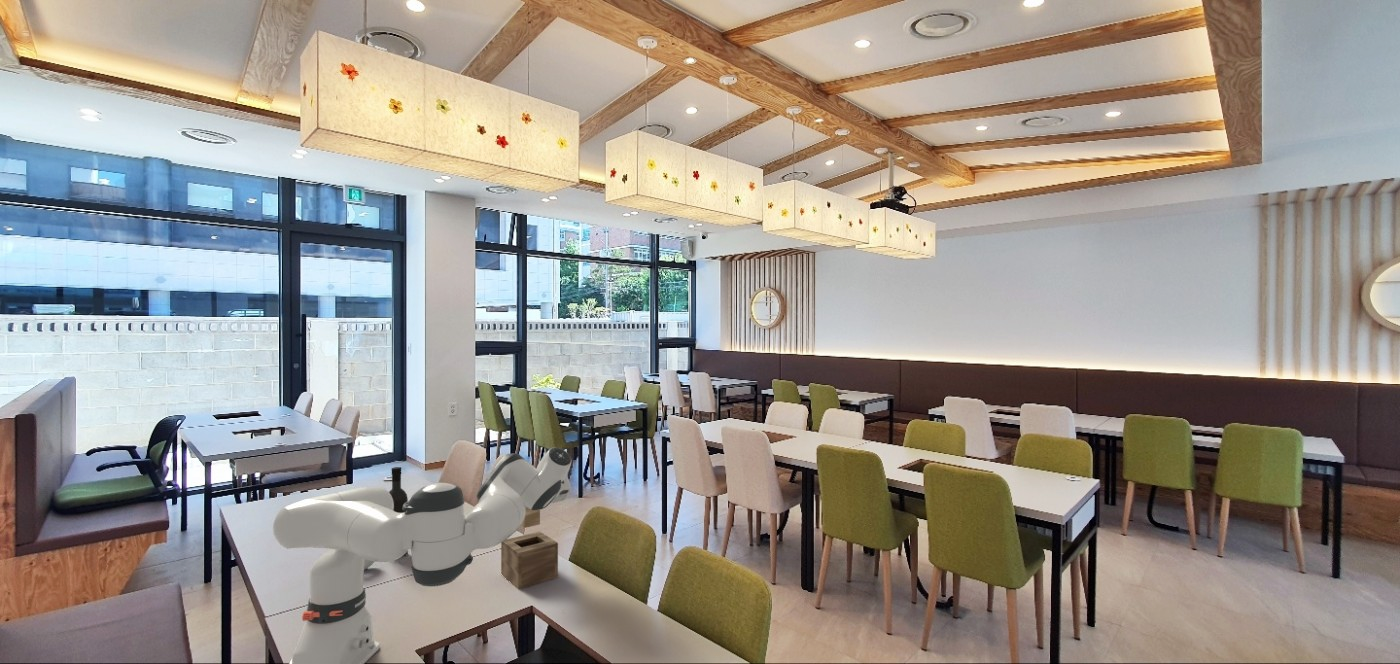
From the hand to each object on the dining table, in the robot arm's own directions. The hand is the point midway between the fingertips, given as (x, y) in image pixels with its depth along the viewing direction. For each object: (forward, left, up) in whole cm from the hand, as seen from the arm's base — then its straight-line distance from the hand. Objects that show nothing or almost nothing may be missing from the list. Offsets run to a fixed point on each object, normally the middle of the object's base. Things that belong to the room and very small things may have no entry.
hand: (529, 509), depth 190 cm
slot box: (0, 0, -21) cm, 21 cm away
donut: (+13, +53, -21) cm, 59 cm away
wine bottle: (+25, +46, -21) cm, 57 cm away
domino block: (-1, 0, -5) cm, 5 cm away
